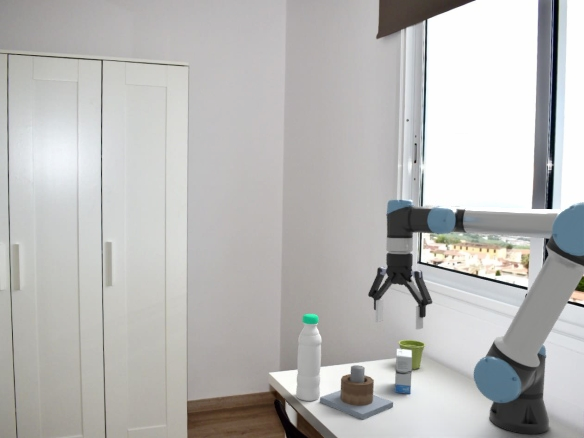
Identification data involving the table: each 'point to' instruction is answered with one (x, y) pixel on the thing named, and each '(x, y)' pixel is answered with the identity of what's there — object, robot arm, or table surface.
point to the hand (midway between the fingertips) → (398, 325)
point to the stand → (357, 411)
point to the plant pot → (413, 351)
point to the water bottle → (309, 360)
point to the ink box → (403, 371)
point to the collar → (357, 391)
